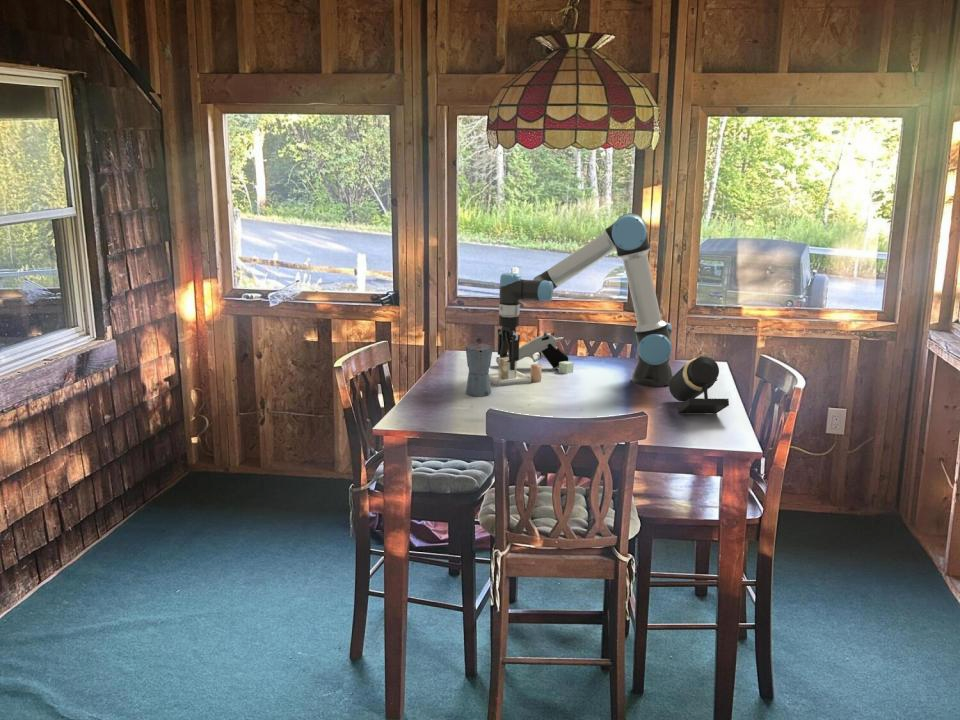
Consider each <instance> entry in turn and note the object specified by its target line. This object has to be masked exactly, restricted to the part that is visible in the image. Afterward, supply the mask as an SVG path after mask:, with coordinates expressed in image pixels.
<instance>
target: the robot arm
mask: <svg viewBox="0 0 960 720" xmlns="http://www.w3.org/2000/svg"><path fill="white" fill-rule="evenodd" d="M647 231H648V230H647V224H646V221H645V220H644V219H643V217H641V216H640V215H639V214H637V213H633V212H630V213H629V212H628V213H625V214H623V215H621V216H619V217H618V218H617V219H616V220H615V221H614V222H613V223H612V224H611V225H609V226H608V227H607V228H605V229H604V230H603V233H601V234H600V235H599V236H597V237H596V238H594V239H593V240H591V241H589V242H588V243H587V244H585V245H584V246H582V247H581V248H579V249H576V251H574V252H573V253H570V255H568V256H566V257H565V258H564V259H562V260H561V261H559V262H557V263H556V264H554V265H552V266H551V267H550V268H548V269H546V270H545V271H543V272H542V273H541V274H538V275H537V276H534V278H533V279H522V277H521V274H520V273H516V272H505V273H502V274H501V275H500V281H499V306H498V310H499V311H498V313H499V316H498V325H499V327H501V328H498V329H497V355H498V356H499V357H500V358H506V357H508V355H507V354H509V360H507V361H508V371H507V378H508V379H511V378H515V361H517V362H519V361H520V360H519V347H520V339H521V335H520V334H518V333H517V329H516V328H517V327H519V326H520V316H519V315H520V312H521V311H520V310H521V303H520V302H521V301H534V302H551V301H552V300H553V296H554V290H555V289H557V288H558V287H560V286H562V285H563V284H565V283H566V282H568V281H569V280H571V279H572V278H574V277H576V276H577V275H579V274H581V273H582V272H583V271H585V270H586V269H588V268H590V267H591V266H593V265H594V264H596V263H598V262H599V261H601V260H602V259H604V258H605V257H607V256H609V255H610V254H612V253H613V252H616V255H617V257H618V258H620V259H621V260H622V261H623V265H624V269H625V274H626V278H627V283H628V287H629V292H630V296H631V300H632V306H633V310H634V314H635V319H636V322H637V323H636V324H637V325H636V327H635V329H634V334H635V339H636V343H637V353H638V355H637V362H636V365H635V368H634V371H633V372H632V376H631V377H632V378H631V380H632V382H633V383H635V384H637V385H641V386H646V385H647V387H665V386H664V385H668V386H669V383H670V380H671V378H672V377H673V376H674V375H673V372H672V369H671V365H670V357H671V356H672V353H673V345H672V332H673V329H672V328H673V327H672V324H671V323H670V322H666V321H664V320H663V319H662V317H661V312H660V307H659V302H658V298H657V294H656V293H657V292H656V289H655V284H654V279H653V275H652V271H651V266H650V261H649V257H648V253H649V252H650V250H651V245H650V241H649V237H648V232H647ZM518 360H519V361H518Z"/></svg>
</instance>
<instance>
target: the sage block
mask: <svg viewBox="0 0 960 720" xmlns="http://www.w3.org/2000/svg"><path fill="white" fill-rule="evenodd" d="M558 373H561V374H566V375H569V374H572V373H574V361H573V362H572V361H569V362H568V361H563V362H559V368H558ZM568 373H569V374H568Z"/></svg>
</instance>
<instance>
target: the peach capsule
mask: <svg viewBox="0 0 960 720" xmlns="http://www.w3.org/2000/svg"><path fill="white" fill-rule="evenodd" d="M542 369H543V368H542V364H536V363H534V364H531V365H530V377H531V381H532V382H531V383H541V382H542Z"/></svg>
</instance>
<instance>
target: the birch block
mask: <svg viewBox="0 0 960 720" xmlns="http://www.w3.org/2000/svg"><path fill="white" fill-rule="evenodd" d="M507 360H509V357H507V358H499V365H498V371H497V372H498V376H499V377H501V378H503V379H508V378H507V371H508V361H507ZM517 364H518V361H515V378H516V371H518V369H517V366H518V365H517ZM511 379H513V378H511Z"/></svg>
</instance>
